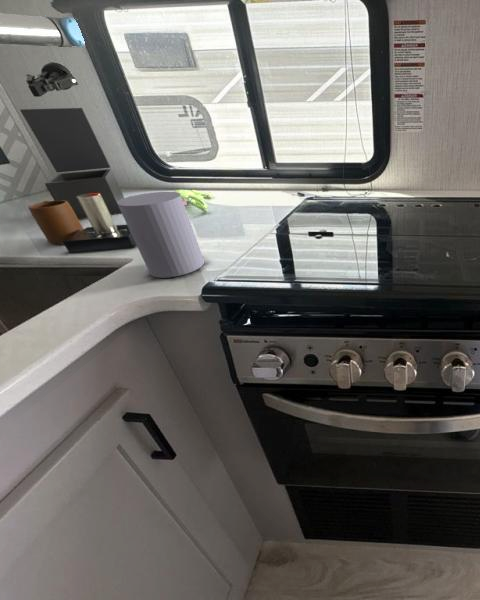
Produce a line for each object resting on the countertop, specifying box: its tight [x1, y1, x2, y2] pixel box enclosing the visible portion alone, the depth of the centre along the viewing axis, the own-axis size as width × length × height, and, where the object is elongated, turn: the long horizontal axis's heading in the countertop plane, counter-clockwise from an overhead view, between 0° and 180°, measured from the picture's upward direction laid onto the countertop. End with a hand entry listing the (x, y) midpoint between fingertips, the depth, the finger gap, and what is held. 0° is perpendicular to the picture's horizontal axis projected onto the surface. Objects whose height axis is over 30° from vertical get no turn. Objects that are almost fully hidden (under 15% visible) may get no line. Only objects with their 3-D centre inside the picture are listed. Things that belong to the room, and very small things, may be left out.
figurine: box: [172, 189, 213, 214], centre depth 109 cm, size 18×27×6 cm
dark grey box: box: [44, 168, 125, 220], centre depth 107 cm, size 17×14×11 cm
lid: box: [19, 107, 111, 173], centre depth 104 cm, size 18×14×1 cm
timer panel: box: [62, 224, 137, 254], centre depth 84 cm, size 14×10×3 cm
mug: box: [28, 200, 84, 245], centre depth 86 cm, size 12×8×9 cm, turn 49°
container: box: [117, 191, 205, 279], centre depth 68 cm, size 10×10×15 cm
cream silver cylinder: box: [77, 193, 118, 235], centre depth 80 cm, size 4×4×9 cm
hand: (34, 91), depth 99 cm, fingers closed
